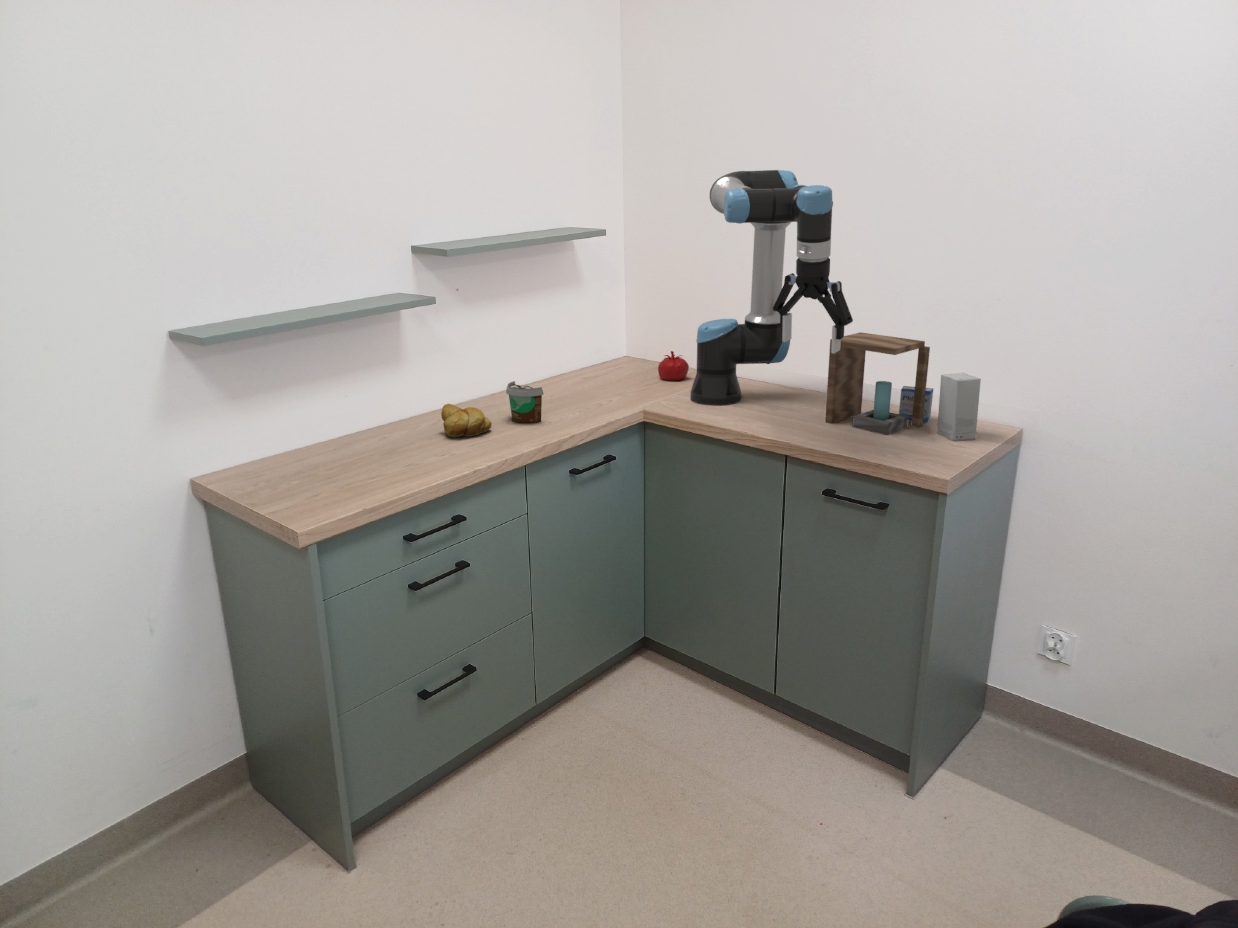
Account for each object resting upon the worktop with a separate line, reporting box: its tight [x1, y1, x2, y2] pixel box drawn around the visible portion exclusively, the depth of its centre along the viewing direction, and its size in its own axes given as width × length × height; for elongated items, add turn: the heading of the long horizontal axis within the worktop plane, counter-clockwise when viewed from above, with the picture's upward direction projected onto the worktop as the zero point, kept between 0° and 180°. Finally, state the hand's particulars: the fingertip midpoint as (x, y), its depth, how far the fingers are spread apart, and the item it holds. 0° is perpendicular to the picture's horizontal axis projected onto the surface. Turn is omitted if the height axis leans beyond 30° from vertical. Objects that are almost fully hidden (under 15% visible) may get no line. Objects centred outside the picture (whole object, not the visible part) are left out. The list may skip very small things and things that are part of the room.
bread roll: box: [440, 403, 493, 438], centre depth 229 cm, size 13×10×8 cm
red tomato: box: [657, 350, 690, 382], centre depth 285 cm, size 10×10×9 cm
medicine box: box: [898, 385, 934, 423], centre depth 235 cm, size 8×4×9 cm, turn 65°
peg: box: [873, 380, 893, 421], centre depth 227 cm, size 4×4×12 cm
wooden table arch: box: [824, 332, 931, 436], centre depth 229 cm, size 15×20×22 cm
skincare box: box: [936, 372, 982, 442], centre depth 218 cm, size 8×7×16 cm
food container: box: [505, 380, 544, 425], centre depth 239 cm, size 12×6×10 cm, turn 47°
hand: (810, 346), depth 208 cm, fingers open, 13 cm apart
